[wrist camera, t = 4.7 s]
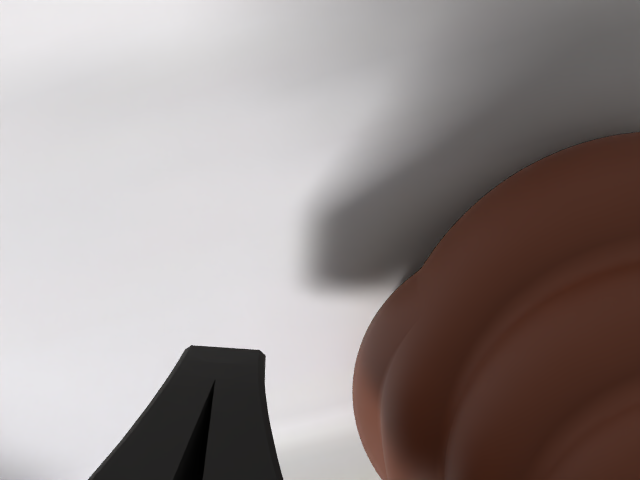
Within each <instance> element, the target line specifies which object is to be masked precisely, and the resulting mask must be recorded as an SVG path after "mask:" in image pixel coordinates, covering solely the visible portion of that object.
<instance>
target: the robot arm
mask: <svg viewBox="0 0 640 480" xmlns="http://www.w3.org/2000/svg"><path fill="white" fill-rule="evenodd" d="M265 357H266V356H265V355H264V354H263V353H262V352H261V351H260V350H251V349H236V348H222V347H207V346H193V345H191V346H190V347H188V348H187V349H185V351H184V352H183V354H182V356H181V357H180V359H179V361H178V362H177V364H176V366H175V367H174V369H173V370H172V372H171V373H170V375H169V376H168V378H167V379H166V381H165V382H164V384H163V385H162V387H161V388H160V390H159V391H158V392H157V394H156V395H155V397H154V398H153V399H152V401H151V402H150V404H149V405H148V406H147V408H146V409H145V410H144V412H143V413H142V414H141V415H140V417H139V418H138V419H137V421H136V422H135V423H134V425H133V426H132V427H131V429H130V430H129V431H128V432H127V434H126V435H125V436H124V438H123V439H122V440H121V441H120V443H119V444H118V445H117V446H116V447H115V449H114V450H113V451H112V452H111V453H110V454H109V456H108V457H107V458H106V459H105V460H104V461H103V463H102V464H101V465H100V466H99V467H98V468H97V470H96V471H95V472H94V473H93V474H92V476H91V477H90V478H89V479H88V480H283V477H282V474H281V470H280V466H279V462H278V458H277V454H276V449H275V445H274V440H273V436H272V431H271V427H270V421H269V416H268V409H267V402H266V394H265Z"/></svg>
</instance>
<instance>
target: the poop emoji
mask: <svg viewBox="0 0 640 480" xmlns="http://www.w3.org/2000/svg"><path fill="white" fill-rule="evenodd" d="M353 408H354V415H355V420H356V425H357V429H358V432H359V436H360V439H361V441H362V444H363V447H364V449H365V451H366V453H367V456H368V458H369V459H370V461H371V463H372V465H373V467H374V468H375V470H376V472H377V473H378V474H379V476H380V477H381V479H382V480H640V132H634V133H626V134H619V135H614V136H608V137H604V138H599V139H595V140H591V141H588V142H584V143H581V144H578V145H575V146H572V147H569V148H566V149H564V150H561V151H559V152H556V153H554V154H552V155H549V156H547V157H545V158H543V159H541V160H539V161H537V162H535V163H533V164H531V165H529V166H527V167H526V168H524V169H522V170H520V171H519V172H517V173H516V174H514V175H512V176H511V177H509V178H508V179H506V180H505V181H503V182H502V183H500V184H499V185H498V186H496V187H495V188H494V189H492V190H491V191H490V192H488V193H487V194H486V195H485V196H484V197H482V198H481V199H480V200H479V201H478V202H477V203H475V204H474V205H473V206H472V207H471V208H470V209H469V210H468V211H467V212H466V213H465V214H464V215H463V216H462V217H461V218H460V219H459V220H458V221H457V222H456V223H455V224H454V225H453V226H452V228H451V229H450V230H449V231H448V232H447V233H446V235H445V236H444V237H443V238H442V239H441V241H440V242H439V243H438V245H437V246H436V247H435V249H434V250H433V251H432V253H431V254H430V256H429V257H428V259H427V260H426V262H425V263H424V265H423V266H422V268H421V269H420V270H419V271H417V272H416V273H415V274H414V275H412V276H411V277H410V278H409V279H407V280H406V281H405V282H404V283H403V284H402V285H400V286H399V287H398V288H397V289H396V290H395V291H394V292H393V294H392V295H391V296H390V297H389V298H388V299H387V300H386V301H385V303H384V304H383V305H382V307H381V308H380V309H379V311H378V312H377V314H376V315H375V317H374V318H373V320H372V322H371V324H370V325H369V327H368V329H367V331H366V333H365V336H364V338H363V340H362V343H361V346H360V349H359V352H358V355H357V359H356V363H355V369H354V375H353Z"/></svg>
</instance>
